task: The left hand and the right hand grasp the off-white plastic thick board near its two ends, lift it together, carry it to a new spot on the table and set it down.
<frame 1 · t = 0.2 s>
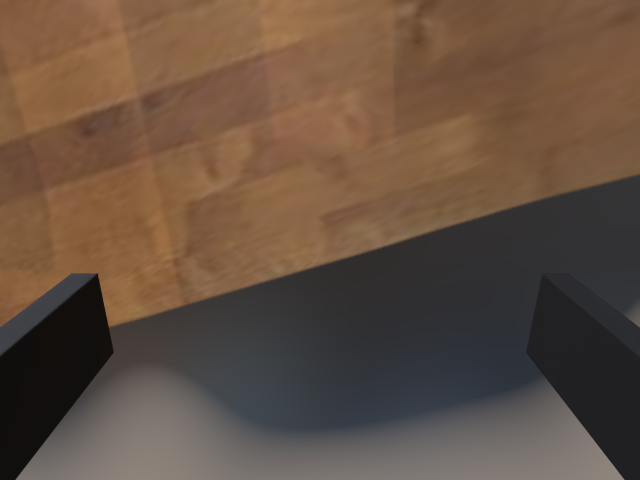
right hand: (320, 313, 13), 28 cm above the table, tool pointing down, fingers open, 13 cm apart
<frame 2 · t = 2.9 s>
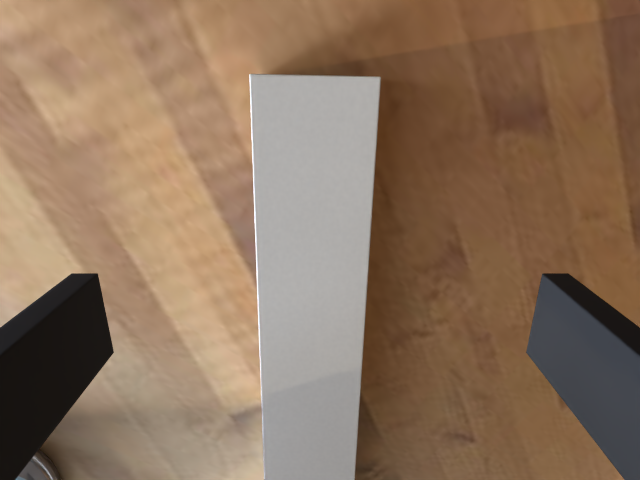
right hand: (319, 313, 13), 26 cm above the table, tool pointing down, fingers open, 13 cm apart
thick board: (310, 429, 47), on the table
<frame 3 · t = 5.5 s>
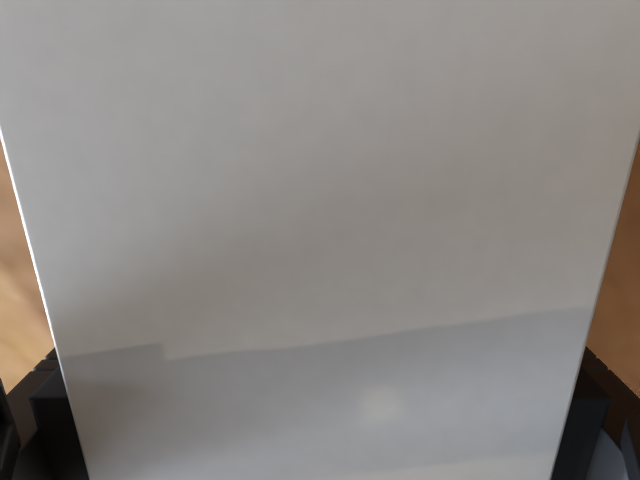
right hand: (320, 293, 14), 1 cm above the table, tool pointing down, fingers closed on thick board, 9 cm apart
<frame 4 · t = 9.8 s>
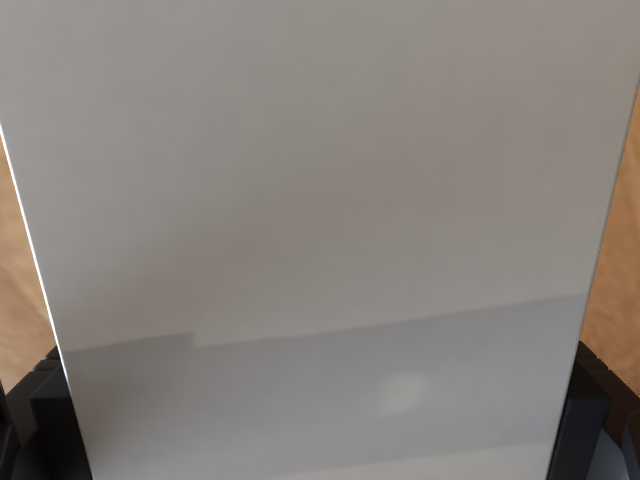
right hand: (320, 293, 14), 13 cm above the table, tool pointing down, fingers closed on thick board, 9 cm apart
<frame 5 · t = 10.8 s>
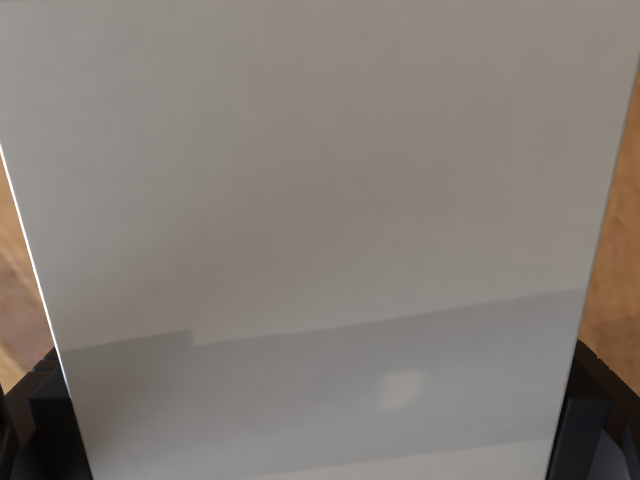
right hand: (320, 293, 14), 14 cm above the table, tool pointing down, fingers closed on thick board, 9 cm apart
when the left hand's fingers open (1 cm above the table, at t = 14.3 s): thick board stays where it is, on the table.
when the right hand's fingers open (1 cm above the table, at t = 14.3 s): thick board stays where it is, on the table.
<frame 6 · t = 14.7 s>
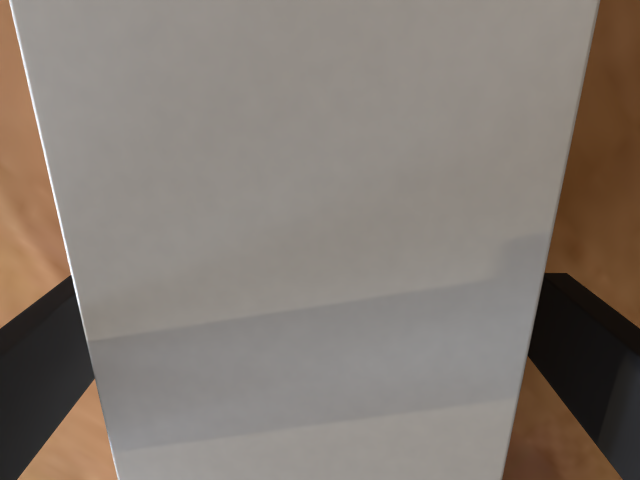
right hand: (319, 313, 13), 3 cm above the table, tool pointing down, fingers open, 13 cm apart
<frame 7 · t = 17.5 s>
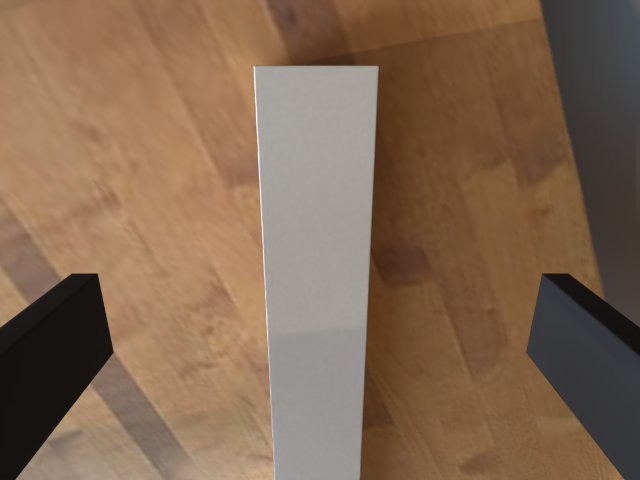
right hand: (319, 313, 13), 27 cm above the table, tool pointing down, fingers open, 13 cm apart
thick board: (317, 413, 48), on the table
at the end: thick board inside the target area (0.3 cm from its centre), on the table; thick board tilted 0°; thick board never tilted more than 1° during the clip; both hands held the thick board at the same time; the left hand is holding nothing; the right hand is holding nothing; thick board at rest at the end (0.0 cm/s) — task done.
